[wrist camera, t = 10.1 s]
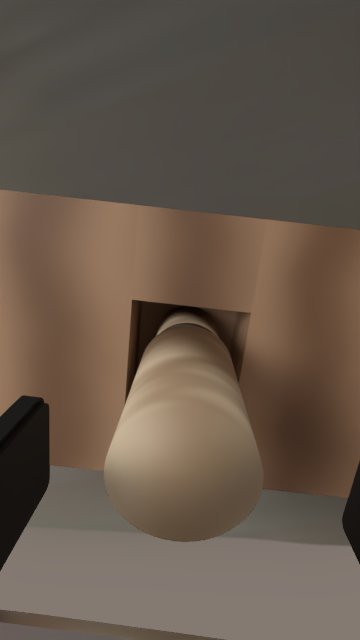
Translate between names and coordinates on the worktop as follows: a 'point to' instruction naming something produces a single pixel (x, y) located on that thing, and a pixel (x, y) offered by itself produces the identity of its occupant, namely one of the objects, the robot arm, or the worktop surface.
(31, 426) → the robot arm
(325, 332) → the board
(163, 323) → the peg
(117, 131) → the worktop surface
